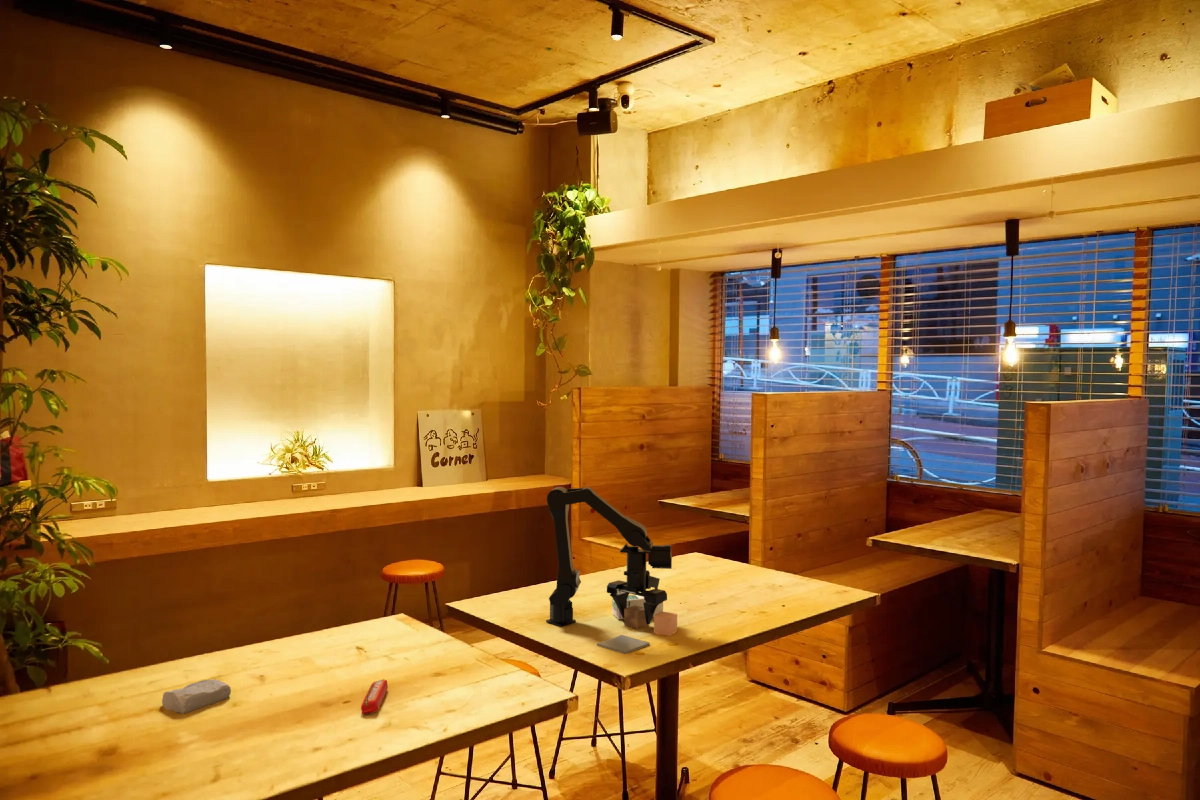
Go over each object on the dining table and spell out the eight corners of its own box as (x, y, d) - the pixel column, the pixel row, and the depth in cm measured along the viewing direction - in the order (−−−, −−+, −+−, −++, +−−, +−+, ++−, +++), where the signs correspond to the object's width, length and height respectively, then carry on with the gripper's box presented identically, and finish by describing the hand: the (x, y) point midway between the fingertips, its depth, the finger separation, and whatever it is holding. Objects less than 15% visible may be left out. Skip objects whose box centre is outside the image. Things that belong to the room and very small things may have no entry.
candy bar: (373, 689, 189) (373, 676, 188) (389, 689, 189) (389, 676, 189) (359, 718, 173) (359, 704, 173) (376, 717, 173) (376, 703, 173)
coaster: (597, 645, 219) (597, 643, 219) (621, 636, 227) (621, 634, 227) (625, 654, 213) (625, 651, 213) (649, 644, 220) (649, 642, 220)
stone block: (157, 715, 178) (183, 716, 173) (155, 692, 178) (181, 692, 173) (208, 699, 188) (234, 699, 183) (206, 677, 189) (232, 677, 183)
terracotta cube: (653, 633, 230) (654, 615, 230) (660, 628, 235) (661, 611, 235) (670, 636, 228) (670, 618, 228) (677, 631, 233) (677, 613, 232)
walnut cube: (624, 625, 237) (624, 608, 237) (635, 622, 241) (635, 605, 241) (637, 629, 234) (637, 612, 234) (648, 625, 238) (648, 608, 237)
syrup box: (663, 597, 246) (617, 599, 243) (663, 616, 246) (616, 619, 243) (657, 593, 252) (612, 595, 248) (657, 612, 252) (611, 614, 248)
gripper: (679, 568, 237) (678, 621, 237) (630, 558, 249) (629, 609, 250) (654, 574, 228) (654, 630, 229) (605, 564, 241) (605, 617, 242)
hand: (636, 621), depth 237 cm, fingers open, 9 cm apart
